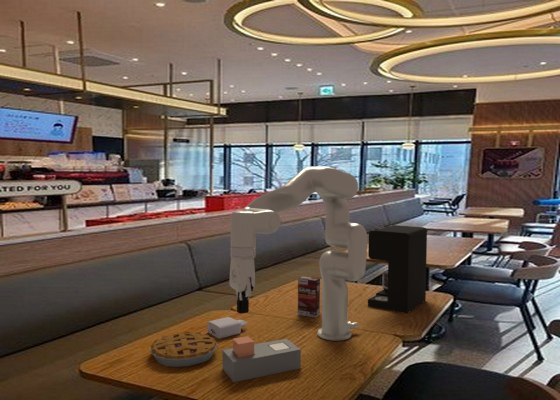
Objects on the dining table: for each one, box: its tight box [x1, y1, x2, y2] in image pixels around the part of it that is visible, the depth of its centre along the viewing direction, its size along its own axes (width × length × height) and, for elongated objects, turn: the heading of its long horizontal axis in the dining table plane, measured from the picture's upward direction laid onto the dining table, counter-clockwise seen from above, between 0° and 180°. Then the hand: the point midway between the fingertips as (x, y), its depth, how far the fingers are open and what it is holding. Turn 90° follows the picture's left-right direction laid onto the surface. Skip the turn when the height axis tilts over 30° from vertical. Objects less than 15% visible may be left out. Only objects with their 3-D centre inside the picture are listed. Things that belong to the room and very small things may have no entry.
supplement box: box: [297, 276, 321, 318], centre depth 194 cm, size 9×5×16 cm, turn 68°
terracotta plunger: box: [232, 335, 255, 358], centre depth 139 cm, size 5×5×6 cm
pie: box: [150, 331, 218, 368], centre depth 153 cm, size 22×22×5 cm
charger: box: [206, 316, 249, 340], centre depth 175 cm, size 5×9×15 cm
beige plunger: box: [269, 343, 289, 351], centre depth 144 cm, size 5×5×6 cm
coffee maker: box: [367, 224, 428, 314], centre depth 213 cm, size 28×20×35 cm
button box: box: [222, 338, 302, 383], centre depth 142 cm, size 22×10×6 cm, turn 116°
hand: (242, 312), depth 138 cm, fingers closed
